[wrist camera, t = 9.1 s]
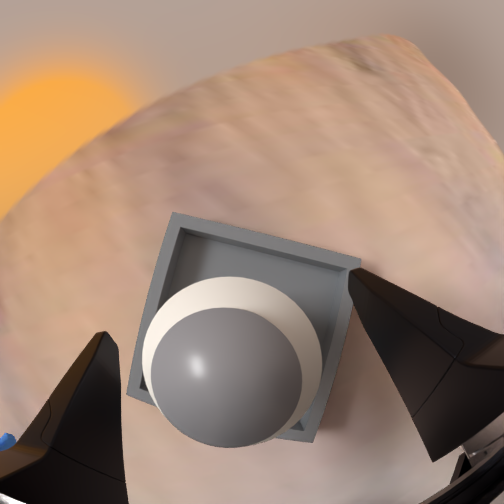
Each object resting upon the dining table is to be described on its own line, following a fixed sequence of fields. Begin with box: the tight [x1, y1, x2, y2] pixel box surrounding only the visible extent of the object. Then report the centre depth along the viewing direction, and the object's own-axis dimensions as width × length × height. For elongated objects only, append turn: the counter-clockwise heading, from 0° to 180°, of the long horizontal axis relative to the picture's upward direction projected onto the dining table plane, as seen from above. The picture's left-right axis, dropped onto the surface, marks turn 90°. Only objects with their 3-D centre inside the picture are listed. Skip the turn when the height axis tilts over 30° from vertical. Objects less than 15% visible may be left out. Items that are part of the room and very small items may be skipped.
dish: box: [126, 212, 361, 443], centre depth 17 cm, size 12×12×2 cm
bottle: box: [142, 277, 322, 448], centre depth 11 cm, size 5×5×12 cm
